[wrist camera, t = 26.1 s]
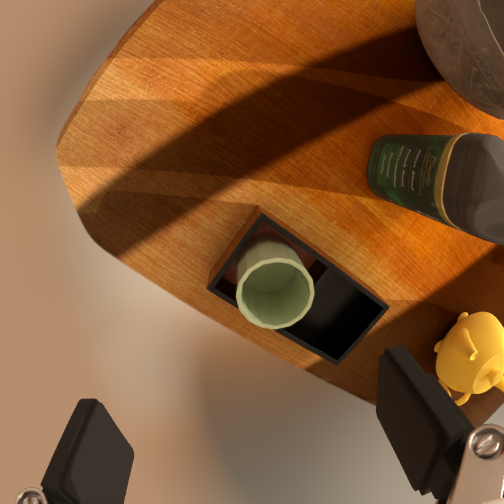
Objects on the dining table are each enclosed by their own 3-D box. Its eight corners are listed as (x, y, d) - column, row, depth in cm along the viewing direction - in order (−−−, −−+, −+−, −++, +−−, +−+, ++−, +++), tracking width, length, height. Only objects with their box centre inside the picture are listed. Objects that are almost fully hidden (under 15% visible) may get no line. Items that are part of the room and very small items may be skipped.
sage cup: (243, 298, 36) (245, 335, 28) (230, 242, 34) (228, 267, 26) (302, 285, 36) (318, 319, 28) (292, 228, 34) (308, 250, 26)
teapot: (391, 355, 41) (426, 406, 30) (456, 276, 38) (507, 311, 27) (449, 393, 45) (478, 433, 34) (501, 332, 42) (538, 364, 31)
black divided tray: (209, 272, 36) (206, 288, 31) (258, 204, 34) (261, 212, 29) (328, 345, 40) (337, 366, 35) (375, 290, 38) (390, 306, 33)
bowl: (515, 65, 28) (582, 57, 14) (472, 154, 33) (556, 164, 18) (424, -35, 24) (480, -77, 10) (360, 38, 28) (425, -14, 14)
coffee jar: (357, 193, 34) (460, 234, 16) (372, 127, 32) (485, 114, 14) (423, 214, 35) (532, 261, 17) (437, 154, 33) (553, 168, 15)
